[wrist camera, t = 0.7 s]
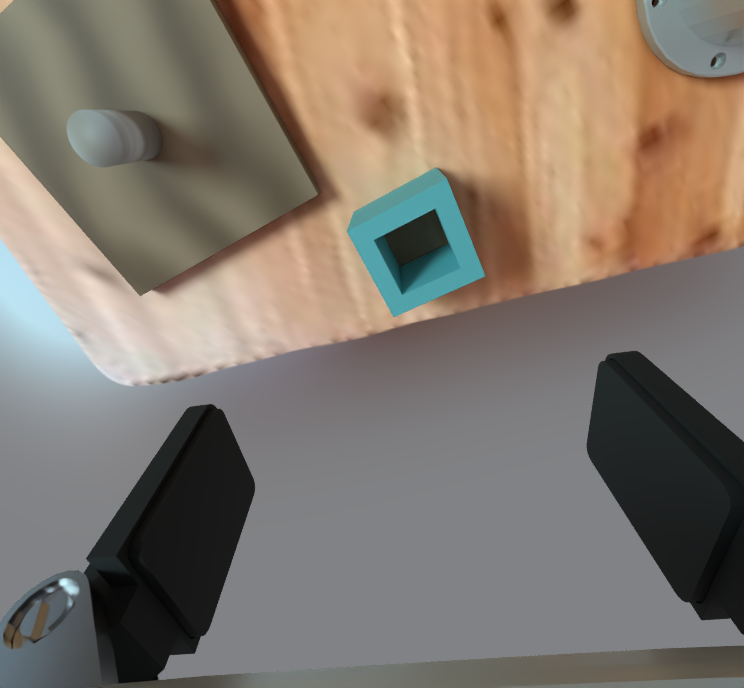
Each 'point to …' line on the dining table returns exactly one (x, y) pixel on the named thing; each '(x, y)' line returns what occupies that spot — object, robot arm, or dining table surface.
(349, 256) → the dining table surface
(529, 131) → the dining table surface
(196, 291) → the dining table surface
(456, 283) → the collar
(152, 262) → the post board
